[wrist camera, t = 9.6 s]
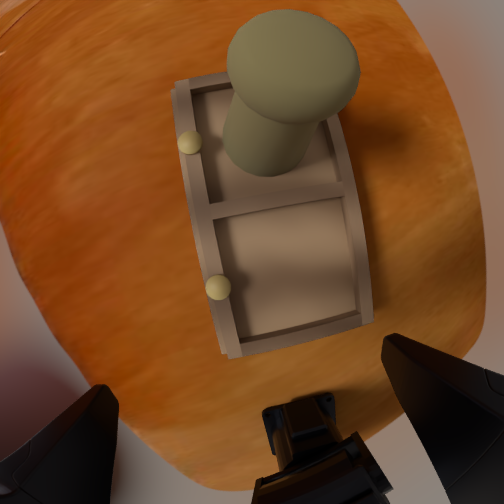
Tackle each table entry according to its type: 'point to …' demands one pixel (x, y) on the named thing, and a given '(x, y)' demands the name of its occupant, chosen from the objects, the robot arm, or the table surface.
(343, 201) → the divided tray
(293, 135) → the olive pepper mill
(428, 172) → the table surface
